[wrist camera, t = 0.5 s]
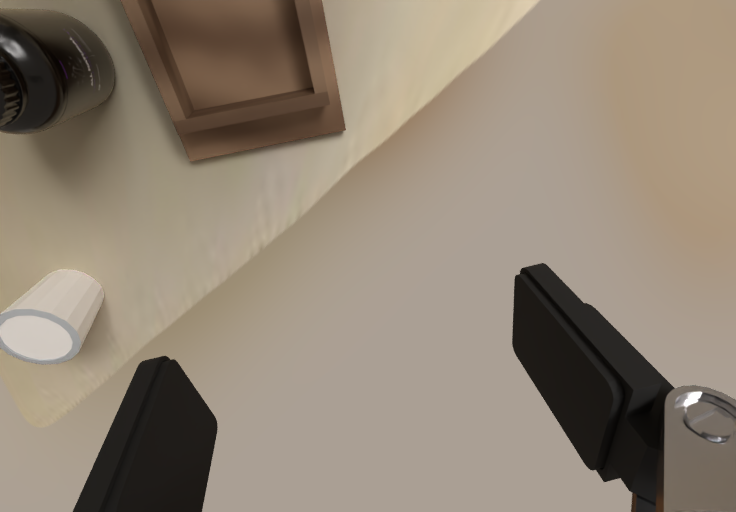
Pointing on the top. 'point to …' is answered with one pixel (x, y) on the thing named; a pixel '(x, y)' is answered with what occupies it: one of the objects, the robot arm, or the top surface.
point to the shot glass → (51, 318)
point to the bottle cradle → (240, 70)
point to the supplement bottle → (49, 70)
